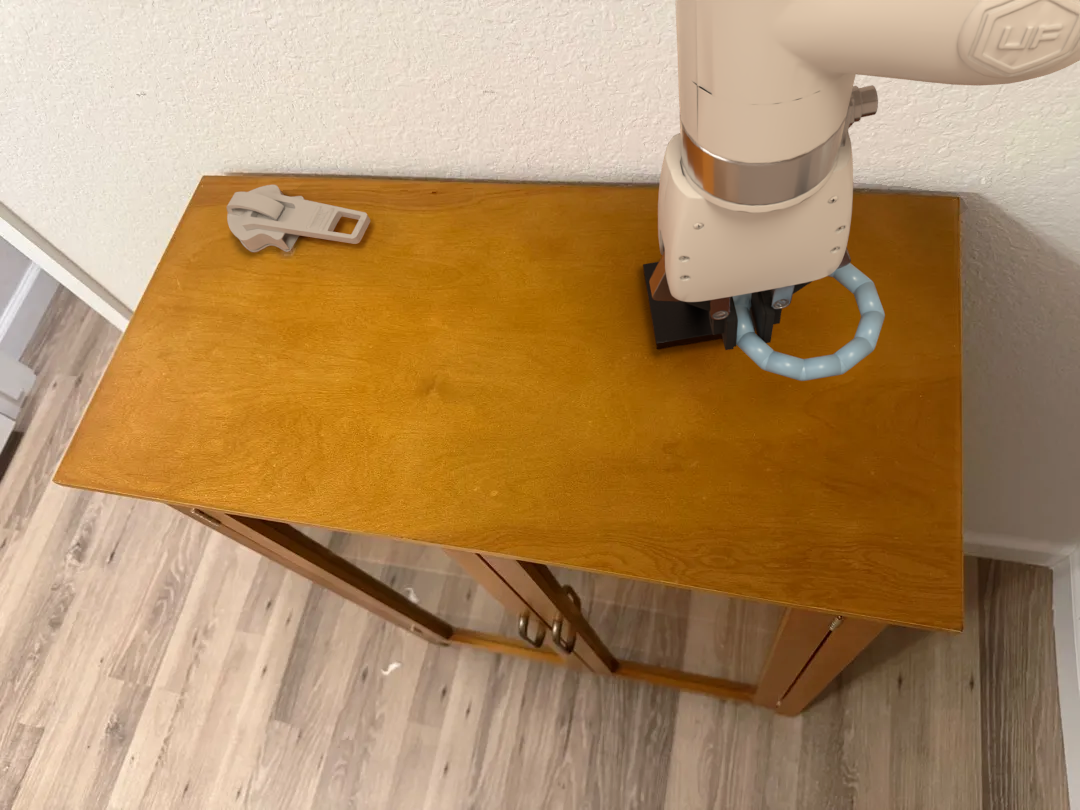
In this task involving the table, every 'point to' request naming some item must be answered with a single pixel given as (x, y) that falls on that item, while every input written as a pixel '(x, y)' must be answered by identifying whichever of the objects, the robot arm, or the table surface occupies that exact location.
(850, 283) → the ring
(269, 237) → the zipper pull
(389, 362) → the table surface
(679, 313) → the post
